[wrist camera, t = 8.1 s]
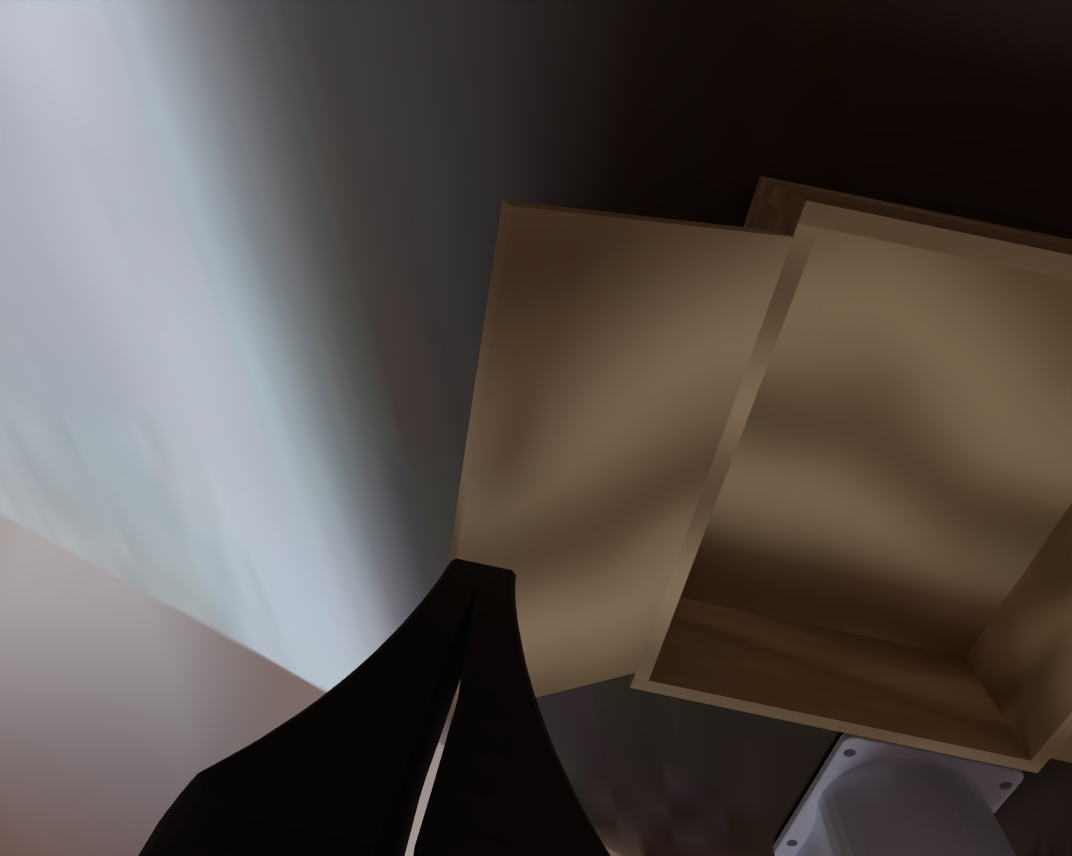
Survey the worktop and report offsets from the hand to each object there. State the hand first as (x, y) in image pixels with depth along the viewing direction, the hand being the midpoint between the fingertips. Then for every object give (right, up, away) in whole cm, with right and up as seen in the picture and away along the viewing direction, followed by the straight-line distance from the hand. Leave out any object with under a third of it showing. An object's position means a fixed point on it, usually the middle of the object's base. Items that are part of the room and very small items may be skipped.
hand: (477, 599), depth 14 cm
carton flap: (+3, +2, +3) cm, 4 cm away
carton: (+17, +2, +9) cm, 19 cm away
